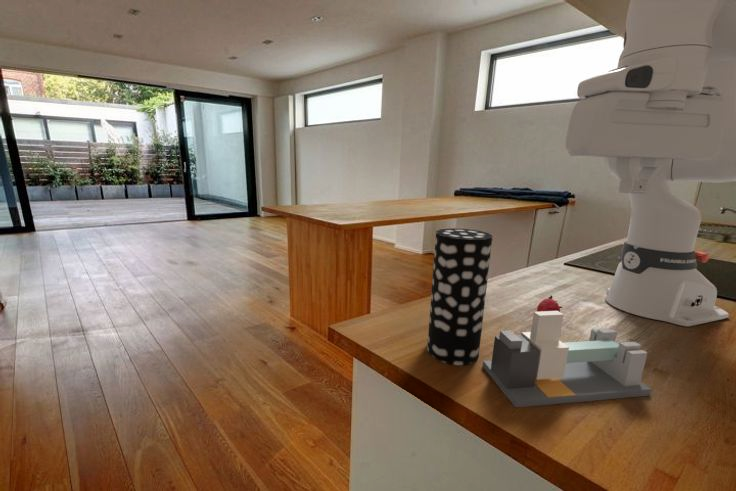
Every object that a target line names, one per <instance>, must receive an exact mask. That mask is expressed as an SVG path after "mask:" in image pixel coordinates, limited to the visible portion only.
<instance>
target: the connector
mask: <svg viewBox="0 0 736 491" xmlns="http://www.w3.org/2000/svg"><path fill="white" fill-rule="evenodd" d="M539 354H540V350H538V349H537V348H536V347H535V346H534V345H532V344H531V343H530V342H529V341H528V340H527V339H525V338H524V337H523V336H522V335H521V334H516V333H515V332H513V330H509V329H508V330H500V331H499V335H495V336H494V340H493V349H492V355H491V360H492V363H491V371H492V372H493V373H494V374H495V376H496V377H497V378H498V379H499V380H500V382H501V383H502V384H503V385H504V386H505V388H506V389H515V388H528V387H534V384H535V378H536V372H537V366H538V360H539Z"/></svg>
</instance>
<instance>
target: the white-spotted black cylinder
mask: <svg viewBox="0 0 736 491" xmlns="http://www.w3.org/2000/svg"><path fill="white" fill-rule="evenodd" d="M434 240H435V241H434V253H433V254H434V256H433V267H432V268H433V269H432V280H431V282H432V283H431V295H430V305H429V306H430V308H429V319H428V320H429V321H428V322H429V323H428V334H427V352H428V353H429V355H431V357H432V358H433V359H436V360H437V361H439V362H441V363H444V364H449V365H453V366H466V365H470V364H474V363H475V362H476V361H478V358H479V357H480V355H479V354H480V347H481V339H482V330H483V321H484V313H485V305H486V297H487V296H486V295H487V286H488V278H489V270H490V262H491V252H492V242H493V235H492V234H491V233H489V232H486V231H482V230H477V229H470V228H469V229H468V228H457V227H454V228H441V229H438V230H436V231H435V239H434Z"/></svg>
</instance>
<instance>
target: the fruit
mask: <svg viewBox="0 0 736 491" xmlns="http://www.w3.org/2000/svg"><path fill="white" fill-rule="evenodd" d="M561 309H563V307H562V306H561V305H559V303H558V300H555V299H554V298H553V295H552V294H551V295H550V296H548V298H544V299H542V300H541V301H540V302H539V304H538V306H537V308H536V312H540V311H559V312H561Z"/></svg>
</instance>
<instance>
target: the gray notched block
mask: <svg viewBox="0 0 736 491" xmlns="http://www.w3.org/2000/svg"><path fill="white" fill-rule="evenodd" d="M590 330H591V331H590V336H589V340H588V341H600V340H612V341H614V342H616V340H617V336H618V331H617V330H615V329H613V328H606V327H603V328H591V329H590ZM618 344H619V347H618V351H617V356H616V357H613V360H604V361H591V362H592V363H593V364H595V365H596V366H598V367H599V368H600V369H602V370H603V371H604V372H606V373H607V374H608V375H610V376H611V377H613V378H614V379H615V380H617V381H618V382H619V383H621V384H622V385H624V386H633V385H640V382H642V381H641V380H642V377H643V373H644V369H645V366H646V365H645V364H646V361H647V357H648V352H647V351H646V350H643V349H641V346H642V345H641V344H639V342H638V343H637V342H636V341H624V342H619V343H618Z"/></svg>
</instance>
